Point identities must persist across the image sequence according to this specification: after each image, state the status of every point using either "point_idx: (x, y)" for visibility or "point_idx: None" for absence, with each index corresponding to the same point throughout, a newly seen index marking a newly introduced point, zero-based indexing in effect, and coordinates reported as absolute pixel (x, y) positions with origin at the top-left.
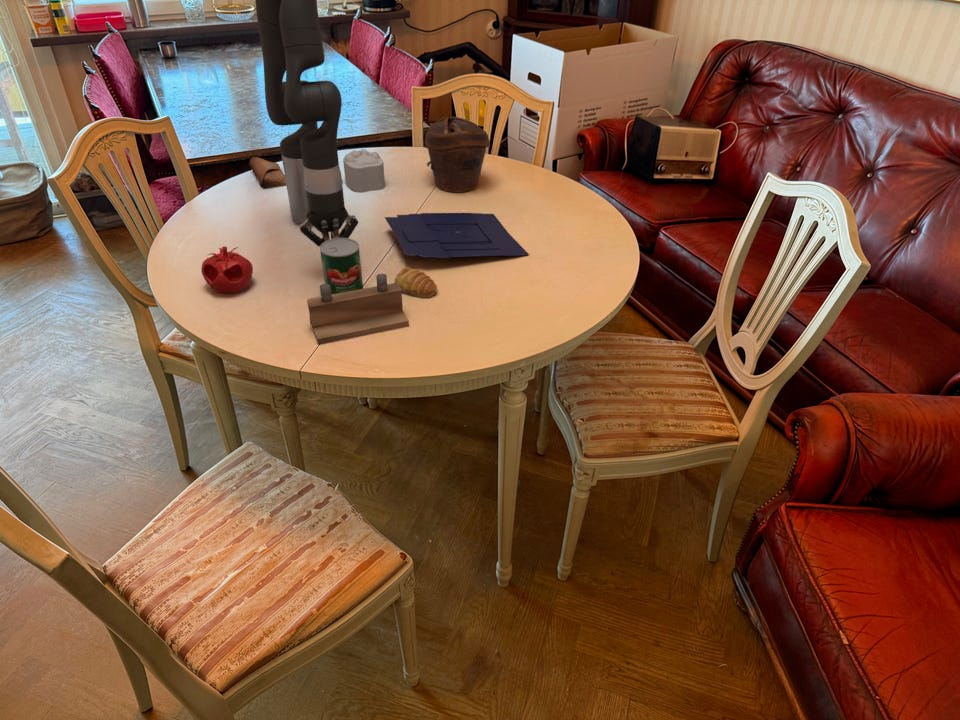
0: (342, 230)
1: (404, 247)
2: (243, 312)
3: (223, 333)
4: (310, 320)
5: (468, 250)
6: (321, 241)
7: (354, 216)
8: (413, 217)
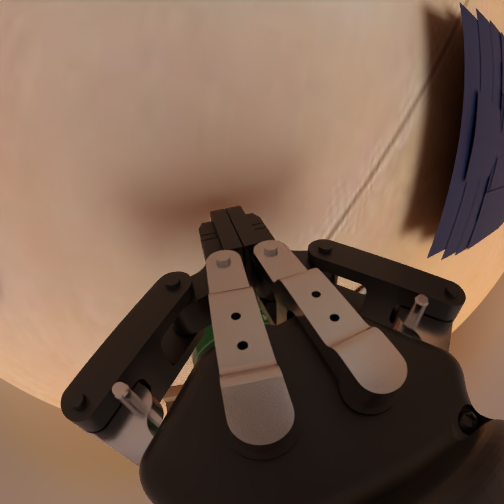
0: (350, 279)
1: (445, 214)
2: (30, 358)
3: (36, 390)
4: (166, 402)
5: (489, 217)
6: (201, 327)
7: (458, 311)
8: (493, 42)
